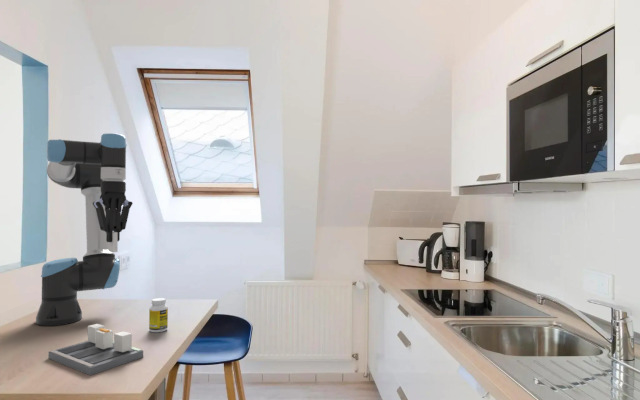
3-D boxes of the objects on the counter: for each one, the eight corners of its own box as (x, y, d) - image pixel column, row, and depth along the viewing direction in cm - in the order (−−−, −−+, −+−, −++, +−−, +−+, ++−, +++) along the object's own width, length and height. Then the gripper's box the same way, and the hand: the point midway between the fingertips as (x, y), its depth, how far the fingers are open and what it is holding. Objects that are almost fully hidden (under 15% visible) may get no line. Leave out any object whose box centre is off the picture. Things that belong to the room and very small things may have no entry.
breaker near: (114, 349, 127) (114, 333, 127) (123, 346, 130) (123, 331, 130) (122, 352, 125) (122, 336, 125) (131, 349, 127) (131, 333, 127)
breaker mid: (95, 346, 129) (95, 329, 129) (105, 343, 132) (105, 327, 132) (103, 349, 127) (103, 332, 127) (112, 346, 130) (112, 329, 130)
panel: (48, 358, 127) (48, 351, 127) (100, 343, 140) (101, 336, 140) (90, 375, 115) (90, 367, 115) (143, 357, 128) (143, 349, 128)
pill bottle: (161, 333, 151) (161, 301, 151) (145, 332, 152) (145, 300, 152) (171, 328, 157) (171, 297, 157) (155, 327, 158) (155, 297, 158)
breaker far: (87, 341, 135) (87, 326, 135) (97, 338, 137) (97, 323, 137) (94, 343, 132) (94, 328, 132) (104, 340, 135) (104, 325, 135)
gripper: (100, 179, 136) (100, 254, 136) (137, 181, 147) (137, 250, 147) (87, 180, 140) (87, 252, 140) (124, 181, 151) (124, 249, 151)
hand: (112, 251), depth 143 cm, fingers closed
